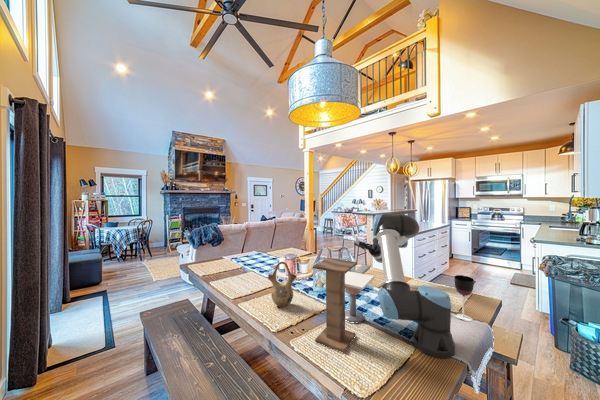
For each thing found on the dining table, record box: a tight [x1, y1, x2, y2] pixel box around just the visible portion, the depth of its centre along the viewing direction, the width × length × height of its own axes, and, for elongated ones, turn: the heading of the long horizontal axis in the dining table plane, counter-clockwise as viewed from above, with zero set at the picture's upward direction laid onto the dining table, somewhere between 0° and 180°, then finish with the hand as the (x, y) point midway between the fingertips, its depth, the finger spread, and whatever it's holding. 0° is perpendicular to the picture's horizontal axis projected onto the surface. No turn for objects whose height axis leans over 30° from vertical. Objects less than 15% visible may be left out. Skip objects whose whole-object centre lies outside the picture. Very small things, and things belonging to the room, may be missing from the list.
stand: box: [312, 257, 358, 354], centre depth 103 cm, size 14×14×33 cm
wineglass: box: [453, 274, 475, 320], centre depth 120 cm, size 8×9×20 cm
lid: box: [345, 264, 375, 291], centre depth 124 cm, size 30×17×2 cm, turn 146°
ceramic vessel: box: [267, 261, 298, 308], centre depth 135 cm, size 16×9×25 cm, turn 91°
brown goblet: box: [345, 286, 364, 323], centre depth 121 cm, size 11×11×20 cm
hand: (366, 240), depth 138 cm, fingers open, 13 cm apart
